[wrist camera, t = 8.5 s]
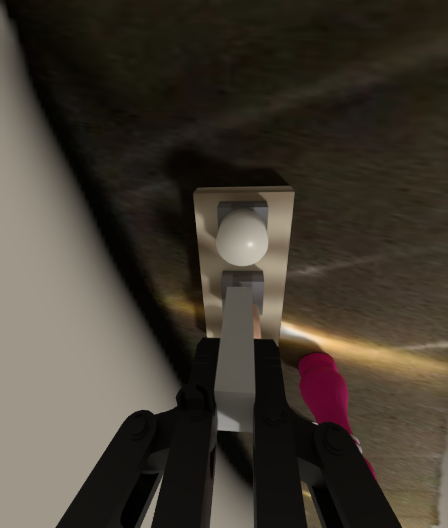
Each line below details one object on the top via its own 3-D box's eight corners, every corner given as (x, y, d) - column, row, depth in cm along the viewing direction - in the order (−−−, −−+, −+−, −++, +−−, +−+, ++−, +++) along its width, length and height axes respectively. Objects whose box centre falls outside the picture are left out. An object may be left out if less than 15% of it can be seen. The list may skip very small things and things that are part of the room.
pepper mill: (289, 372, 45) (315, 528, 27) (304, 346, 41) (347, 507, 24) (326, 380, 45) (376, 540, 28) (345, 355, 41) (416, 521, 24)
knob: (220, 202, 27) (214, 218, 22) (265, 201, 26) (269, 218, 22) (222, 243, 29) (217, 265, 25) (263, 243, 29) (267, 266, 24)
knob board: (197, 187, 29) (188, 199, 24) (290, 185, 28) (299, 197, 24) (210, 336, 42) (206, 363, 37) (275, 338, 41) (279, 366, 36)
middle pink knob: (225, 286, 29) (220, 324, 24) (259, 287, 29) (262, 325, 23) (226, 312, 31) (222, 352, 26) (258, 313, 31) (260, 354, 25)
